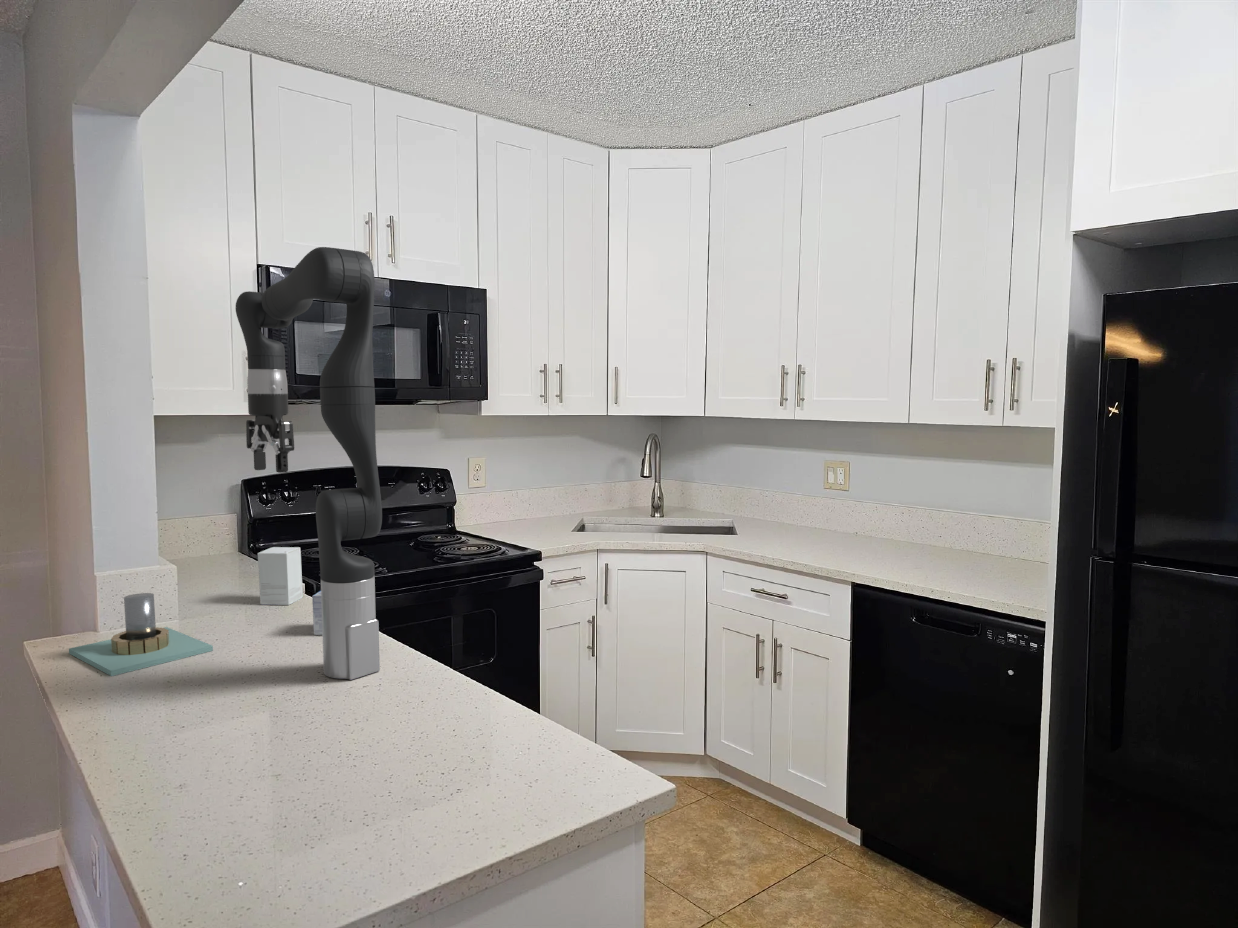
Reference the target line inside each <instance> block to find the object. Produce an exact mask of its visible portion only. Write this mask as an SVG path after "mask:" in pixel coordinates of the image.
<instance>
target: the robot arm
mask: <svg viewBox="0 0 1238 928" xmlns="http://www.w3.org/2000/svg"><path fill="white" fill-rule="evenodd" d="M375 283H376V281H375V270H374V264H373V263H372V259H371V258H370V256H369V255H368V254H367V253H366V252H362V251H360V250H352V249H345V248H337V247H331V246H329V247H328V246H318V247H316V248H313V249H311V250H310V251H309V252H308V253H306V255H305V256H304V257H303V258H302V259H301V260H300V261H299V262H298V263H297V264H296V265H295V267H293V269H292V270H291V271H290V273H289V274H288V275H287V276H285V277H284V278H283V279H281V280H280V281H278V282H275V283H274V284H272V285H270V286H268V287H267V288H266V289H265V290H264V291H263V292H260V291H259V292H258V291H243V292H241V294H239V296H238V297H237V299H236V302H235V313H236V317H237V321H238V324H239V326H240V329H241V333H242V334H243V339H244V342H245V347H246V352H247V353H246V354H247V369H248V370H247V377H246V379H247V380H246V381H247V382H246V383H247V384H246V385H247V386H246V387H247V408H248V410H247V411H248V415H249V416H255V419H247V420H246V423H245V424H246V425H245V427H246V428H245V429H246V430H245V431H246V435H245V436H246V441H245V442H246V448H247V449H250V450H251V452H252V453H253V468H254V470H255V471H264V470H266V469H267V458H266V449H267V446H268V444H269V445H270V446H271V447H272V448H273V450H274V452H275V455H274V456H275V471H276V473H278V474H279V473H280V474H282V473H287V472H288V471H289V459H288V458H289V457H288V456H289V454H290V452H291V451H293V452H294V450H295V437H294V423H293V421H292V420H288V421H287V420H283V416H287V415H288V414H289V392H288V391H289V390H288V378H287V372H286V351H285V350H286V349H285V345H284V344H283V342H281V341H278V340H275V339H271V338H268V337H266V336H265V335H264V333H262V330H261V329H284V328H287V327H289V326H290V325H291V324H292V323H293V320H294V318H295V317H297V316H301V314H304V313H306V311H308V310H309V308H310V307H311V306H312V304H313V301H314V300H320V301H324V302H331V303H343V304H346V317H345V322H344V323H345V324H344V330H343V333H342V335H341V337H340V339H339V341H338V343H337V345H336V346H335V348H334V350H333V351H332V353H331V355H330V356H329V358H328V359H327V361H326V363H325V364H324V367H323V368H322V371H321V374H320V379H319V387H320V388H319V396H320V413H321V417H322V419H323V421H324V423H325V425H326V427H327V428H328V429H329V431H330V432H331V433H332V435H333V436H334V438H335V439H336V441H337V442H338V443H339V445H340V446H341V447H342V450H344V452H345V453H346V455H347V457H348V458H349V460H350V462H351V464H352V466H353V469H354V470H353V471H354V473H355V477H356V482H357V483H356V486H357V487H349V488H348V487H347V488H335V489H334V488H333V489H327V490H321V492H320V493H319V494H318V495H317V498H316V502H315V521H316V531H317V540H318V541H317V542H318V557H319V560H318V561H319V569H320V571H319V572H320V591H321V605H322V635H321V637H322V654H323V655H322V657H323V658H322V659H323V662H322V663H323V674H324V675H325V676H327V677H328V678H332V679H347V680H355V679H358V678H361V677H364V676H367V675H370V674H373V673H377V672H380V670H381V668H380V667H381V665H380V664H381V661H380V657H381V656H380V630H379V629H380V627H379V625H380V624H379V620H378V619H377V618H376V616H377V615H376V613H377V612H376V586H375V585H376V583H375V581H376V579H375V574H376V573H375V564H374V561H373V560H372V559H371V558H368V557H365V556H361V555H356V554H354V553H353V554H352V553H350V552H347V551H346V550H344V549H343V548H342V545H341V542H343V541H352V540H353V541H354V540H361V539H371V538H374V537H377V536H378V535H379V534H380V532H381V528H382V524H383V507H382V505H383V504H382V495H381V488H380V487H381V486H380V478H379V476H380V475H379V470H378V459H377V458H378V457H377V445H376V443H377V442H376V441H377V440H376V438H377V436H376V392H375V389H376V388H375V376H374V375H375V374H374V357H373V356H374V355H373V329H374V328H373V325H374V309H375V308H374V307H375V286H376V285H375Z"/></svg>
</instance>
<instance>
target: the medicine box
mask: <svg viewBox="0 0 1238 928" xmlns="http://www.w3.org/2000/svg"><path fill="white" fill-rule="evenodd" d="M311 599H312V620H313V621H312V622H313V635H314V636H322V605H321V590H318V592H316V593H315V594H313V595H312V598H311Z"/></svg>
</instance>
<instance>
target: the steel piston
mask: <svg viewBox="0 0 1238 928" xmlns="http://www.w3.org/2000/svg"><path fill="white" fill-rule="evenodd" d="M123 602H124V603H123V605H124V606H123V607H124V621H125V631H126V640H139V639H146V638H150V637H154V636H156V627H157V626H156V610H155V609H156V607H155V594H154V593H151V592H144V593H143V592H141V593H140V592H139V593H134V594H129V595H125V596H124V597H123Z"/></svg>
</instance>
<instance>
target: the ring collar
mask: <svg viewBox="0 0 1238 928" xmlns="http://www.w3.org/2000/svg"><path fill="white" fill-rule="evenodd" d="M111 644H112V652H113V653H115V654H118V655H136V654H144V653H149V652H153V651H158V650H160V649H163V648H165V647H167V646H168V644H169V630H167V629H165V627H159V626H158V627H157V626H156V636H154V637H150V638H146V639H139V640H126V630H125V631H121V632H119V633H116V634H114V635H113V636H112V637H111Z"/></svg>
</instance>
